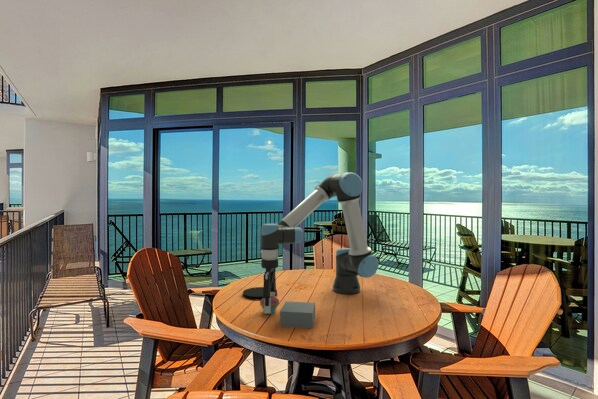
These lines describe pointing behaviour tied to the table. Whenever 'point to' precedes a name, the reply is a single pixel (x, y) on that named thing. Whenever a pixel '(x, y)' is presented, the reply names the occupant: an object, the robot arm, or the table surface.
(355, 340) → the table surface
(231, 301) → the table surface
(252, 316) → the table surface
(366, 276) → the robot arm
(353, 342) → the table surface
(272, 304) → the cupcake
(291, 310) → the plinth
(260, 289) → the wireless charger
